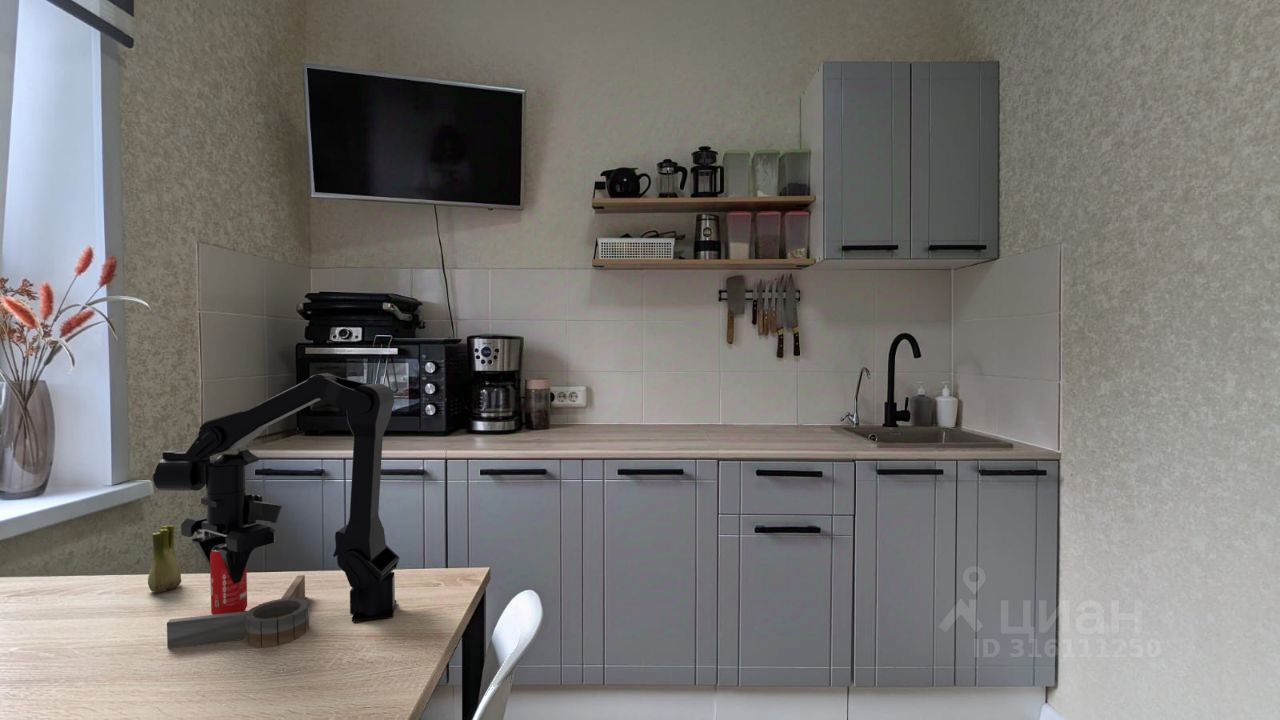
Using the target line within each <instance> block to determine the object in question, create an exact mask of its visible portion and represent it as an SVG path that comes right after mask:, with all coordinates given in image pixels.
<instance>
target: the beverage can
mask: <svg viewBox="0 0 1280 720" xmlns="http://www.w3.org/2000/svg"><path fill="white" fill-rule="evenodd" d="M222 547H226V543H223V544H219V545H216V546H214V547H213V548H212V551H211V553H210V566H209V569H210V570H209V571H210V572H209V574H210V614H211V615H215V614H224V613H234V612H243V611H246V609H247V607H248V579H247V578H248V576H247V575H248V571H247V570H248V567H247V566H248V565H247V564H246V567H245V570H244V573H243V576H242V579H241V581H240V582H238V583H236V584H234V583H233V581H232V580H231V578H230V576H229V574H228V572H227V569H226V567H225V564H224V561H223V559H222V557H221V554H220V552H219V548H222Z"/></svg>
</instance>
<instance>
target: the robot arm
mask: <svg viewBox="0 0 1280 720" xmlns="http://www.w3.org/2000/svg"><path fill="white" fill-rule="evenodd" d="M321 400H322V401H324V402H326V403H328V404H330V405H332V406H333V407H337V408H340V409H343V410H345V411H346V420H347V424H348V426H349V429H350V430H351V433H352V436H353V449H352V450H353V451H352V464H351V465H352V466H351V467H352V468H351V469H352V470H351V486H350V505H349V518H348V523H347V524H346V525H344V526H343V527H341V528H339V530H337V531H336V532H335V535H334V540H335V550H334V551H333V552H334V553H333V555H332V556H333V557H334V558H335V557H336V564H337V566H338V568H339V569H341V570H342V572H344V573H345V578H346V579H347V582H348V584H349V587H350V590H349V613H350V615H351V622H353V623H355V622H363V621H372V620H373V621H374V620H381V619H389V618H393V617H394V615H395V614H394V613H395V610H396V607H397V600H396V594H395V593H396V592H395V590H396V589H395V588H396V587H395V585H396V584H395V581H396V580H395V572H394V570H396V569H397V568H398V567H397V566H398V564H399V562H400V559H401V558H400V556H399V555H397V553H395V551H393V550H392V549H391V548H390V547H389V546H388V545H387V544H386V543H387V542H386V536H385V528H384V525H383V524H382V521H381V519H380V516H379V510H380V491H381V473H382V459H383V457H382V455H383V440H384V439H383V438H384V433H385V432H386V429H387V428H388V425H389V422H390V421H391V420H390V419H391V417H392V413H393V408H394V403H395V395H394V392H393V391H392V390H391V389H390V388H389V387H388V386H387V385H386V384H384V383H379V382H378V383H377V382H376V383H370V384H367V383H366V382H365V383H364V382H361V381H357V380H351V379H348V378H343V377H340V376H337V375H334V374H332V373H329V372H327V373H318V374H316V373H315V374H313V375H311V376H309V378H307V379H306V380H304V381H302V382H300V383H298V384H295V385H294V386H292V387H290V388H288V389H286V390H284V391H282V392H280V393H278V394H276V395H274V396H272V397H270V398H267V399H266V400H264V401H262V402H260V403H259V404H257V405H253V406H252V407H250V408H248V409H245V410H240V411H238V412H234V413H230V414H227V415H223V416H219V417H216V418H213V419H209V420H207V421H205V422H203V423H202V424H201V425H200V426H199V428H198V429H199V430H198V433H197V438H196V439H195V440H194V441H193V443H192V444H191V445H190V447H189V448H188V449H187V450H186V451H185V450H184V451H183V450H178V449H176V450H175V449H173V450H167V451H163V452H162V454H161V456H162V459H161V460H160V461H158V462H159V463H157V465H156V467H155V470H154V473H153V474H152V481H153V484H154V487H155V488H156V489H157V490H158V491H161V492H163V491H164V492H171V491H174V492H175V491H176V492H178V491H180V492H185V491H186V492H187V491H188V492H191V491H194V492H195V491H196V492H197V491H200V490H202V489H203V488H204V487H205V493H206V496H205V497H201V498H200V504H201V505H204V506H206V513H204V514H200V515H195V516H190V517H186V519H184V521H183V522H181V524H180V528H181V529H180V530H181V532H180V535H181V536H184V537H187V538H192V537H193V536H194V535H195V533H196V538H192V539H191V543H192V544H194V546H195V547H196V548H197V549H198V551H199V552H200V554H201V555H202V557H203V559H204V560H205V561H206V563H207V565H208V566H209V567H210V553H211V551H212V548H213V547H214V546H216V545H219V544H223V543H226V547H222V548H219V552H220V554H221V557H222V559H223V561H224V564H225V567H226V569H227V572H228V574H229V576H230V578H231V580H232V581H233V583H234V584H236V583H238V582H240V581H241V579H242V576H243V573H244V570H245V567H246V564H247V563H248V560H249V559H250V557H251V554H252V552H253V551H254V550H255V549H256V548H260V547H264V546H267V545H270V544H274V543H275V542H276V529H274V528H273V527H271V526H269V525H265V524H261V523H257V522H256V521H262V522H263V521H264V522H270V523H272V524H277V523H278V521H279V517H280V514H281V510H282V507H283V505H281V504H277V503H273V502H268V501H263V496H261V495H257V494H253V493H248V492H247V466H248V465H249V466H250V465H252V464H254V463H257V462H260V458H259V457H258V456H256V455H255V454H253V452H251V451H250V449H248V448H247V449H244V450H239V451H238V453H227V452H229V451H231V450H235V449H239V448H241V447H242V448H243V447H245V446H246V445H247V444H249V443H251V442H252V441H253V440H254V439H256V438H257V437H258V436H259V435H261V433H262V432H264V430H265V429H266V428H268V427H269V426H271V425H272V424H273V425H274V424H275V423H277V422H278V421H281V420H282V419H285V418H287V417H289V416H291V415H293V414H295V413H297V412H299V411H301V410H302V409H304V408H307V407H309V406H311V405H313V404H314V403H317V402H318V401H321ZM217 455H219V456H217ZM213 456H217V457H216V458H211V457H213ZM247 525H248V526H247Z"/></svg>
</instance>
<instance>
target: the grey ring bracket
mask: <svg viewBox="0 0 1280 720" xmlns="http://www.w3.org/2000/svg"><path fill="white" fill-rule="evenodd" d="M305 581H306V575H305V574H303V575H302V574H301V575H297V576H296V577H295V579H294V580H293V581H292V582H291V584H290V586H289V587H288V588H287V590H286V591H285V593H284V594H283V595H282V596H281V598H279V599H273V600H271V601H270V600H269V601H266V602H262V603H260V604H258V605H255V606H254V607H251V608H250V609H248V610H245V611H243V612H234V613H224V614H215V615H212V614H208V615H207V614H205V615H198V616H197V615H196V616H190V617H180V618H179V617H178V618H171V619H169V620H168V621H167V622H166V642H167V643H166V644H167V645H166V646H167V647H166V648H167V649H172V648H182V647H190V646H198V645H208V644H215V643H224V642H232V641H241V640H245V642H246V643H247V645H248V646H249V647H256V648H267V647H276V646H280V645H281V646H282V645H284V644H286V643H290V642H292V641H296V640H297V639H299V638H301V637H302V636H304V635H305V634H307V631H308V630H309V628H310V620H309V619H310V615H309V614H310V612H309V610H310V609H309V602H308V600H305V597H306V582H305Z"/></svg>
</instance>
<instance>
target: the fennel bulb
mask: <svg viewBox="0 0 1280 720" xmlns="http://www.w3.org/2000/svg"><path fill="white" fill-rule="evenodd" d="M174 529H175V526H174V525H173V524H171V525H170V524H169V525H162V526H160V530H159V532H153V533H152V534H151V535H152V547H153V548H152V549H153V562H152V565H151V567H150V571H149V573H148V577H147V585H148V588H149V590H150V591H151V592H153V593H161V592H168V591H170V590H174V589H176V588H178V587H179V586H180V584H181V583H182V574H181V570H180V567H179V565H178V560H177V556H176V553H175V548H174V544H175V543H174V539H175V538H174V537H175V536H174V535H175V534H174V533H175V530H174Z"/></svg>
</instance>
